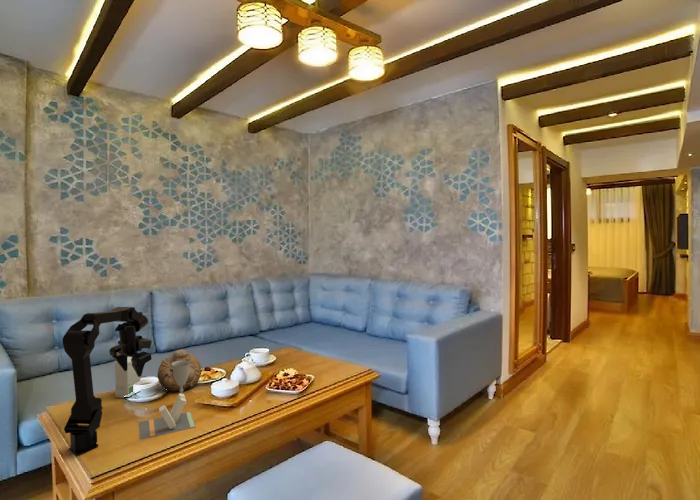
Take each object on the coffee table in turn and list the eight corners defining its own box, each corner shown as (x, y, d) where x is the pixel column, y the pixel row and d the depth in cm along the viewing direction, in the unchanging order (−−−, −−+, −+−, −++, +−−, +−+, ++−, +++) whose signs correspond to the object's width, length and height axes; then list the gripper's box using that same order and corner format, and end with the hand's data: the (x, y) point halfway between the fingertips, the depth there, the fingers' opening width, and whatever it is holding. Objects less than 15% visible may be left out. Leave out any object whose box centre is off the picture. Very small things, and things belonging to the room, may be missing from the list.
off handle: (170, 429, 142) (159, 411, 140) (169, 425, 145) (158, 408, 143) (175, 425, 143) (165, 408, 141) (175, 422, 146) (164, 404, 144)
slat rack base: (139, 443, 136) (139, 415, 135) (139, 425, 148) (138, 399, 147) (195, 430, 144) (195, 404, 144) (190, 414, 157) (190, 390, 156)
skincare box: (127, 399, 170) (126, 363, 170) (114, 397, 172) (113, 362, 171) (141, 391, 179) (140, 356, 178) (128, 389, 180) (127, 355, 179)
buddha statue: (165, 398, 171) (163, 359, 170) (153, 387, 184) (151, 350, 183) (211, 385, 185) (209, 348, 184) (196, 376, 198) (195, 341, 197)
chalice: (168, 407, 163) (167, 364, 162) (182, 401, 169) (181, 359, 168) (180, 411, 159) (180, 367, 158) (194, 404, 165) (193, 362, 164)
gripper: (161, 334, 159) (165, 370, 163) (132, 325, 168) (137, 359, 171) (135, 345, 150) (140, 383, 153) (106, 335, 159) (111, 371, 162)
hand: (132, 373), depth 160 cm, fingers open, 9 cm apart
